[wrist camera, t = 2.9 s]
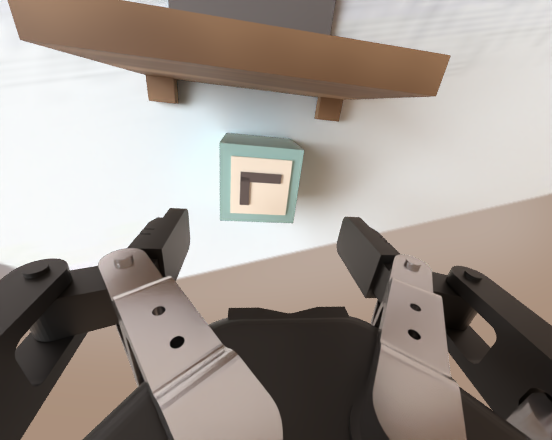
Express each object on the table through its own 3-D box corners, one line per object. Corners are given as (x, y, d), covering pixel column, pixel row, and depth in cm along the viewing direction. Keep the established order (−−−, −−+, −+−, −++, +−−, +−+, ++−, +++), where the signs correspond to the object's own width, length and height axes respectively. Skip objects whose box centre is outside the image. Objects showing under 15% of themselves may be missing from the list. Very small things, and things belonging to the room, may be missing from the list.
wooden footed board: (144, 25, 17) (-26, -106, 6) (347, 56, 19) (471, -1, 9) (153, 100, 19) (38, 97, 9) (334, 120, 22) (420, 137, 11)
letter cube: (226, 132, 21) (218, 143, 15) (290, 138, 22) (305, 150, 16) (226, 194, 24) (219, 222, 18) (283, 197, 25) (293, 225, 19)
